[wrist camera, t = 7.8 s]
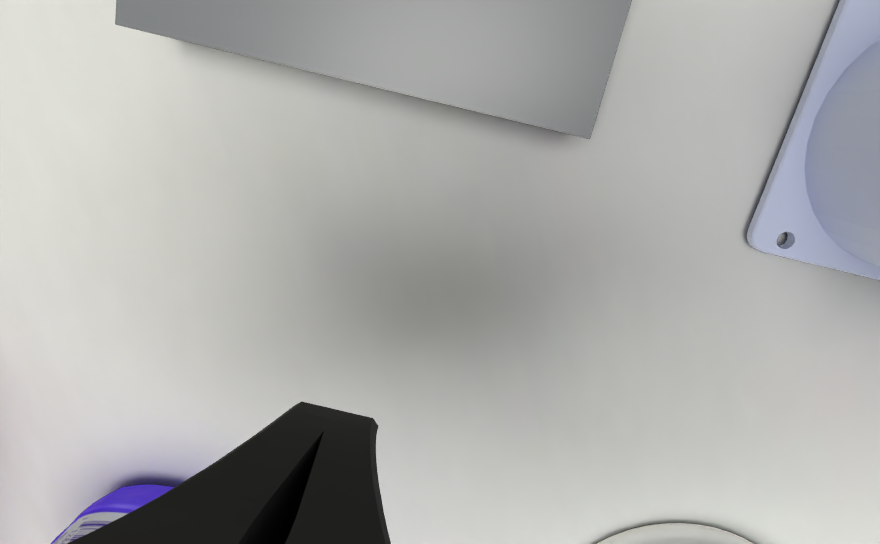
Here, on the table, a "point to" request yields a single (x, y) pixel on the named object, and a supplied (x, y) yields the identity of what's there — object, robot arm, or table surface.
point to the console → (421, 47)
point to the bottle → (110, 510)
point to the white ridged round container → (675, 535)
